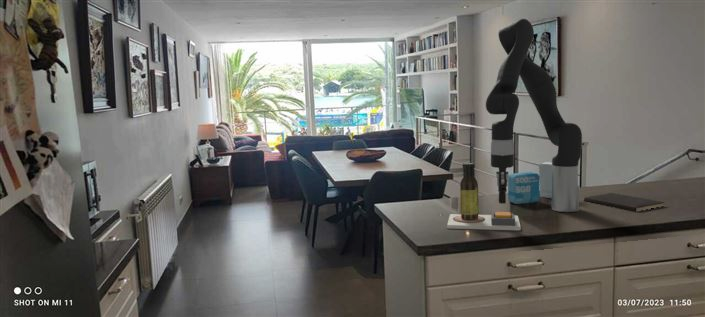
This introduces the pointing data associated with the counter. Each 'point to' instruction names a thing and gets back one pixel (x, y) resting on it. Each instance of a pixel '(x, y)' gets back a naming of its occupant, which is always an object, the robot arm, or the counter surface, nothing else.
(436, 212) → the counter surface
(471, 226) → the white control panel
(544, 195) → the skincare box
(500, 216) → the button
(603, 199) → the hardcover book
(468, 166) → the sauce bottle
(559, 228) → the counter surface
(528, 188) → the data package
